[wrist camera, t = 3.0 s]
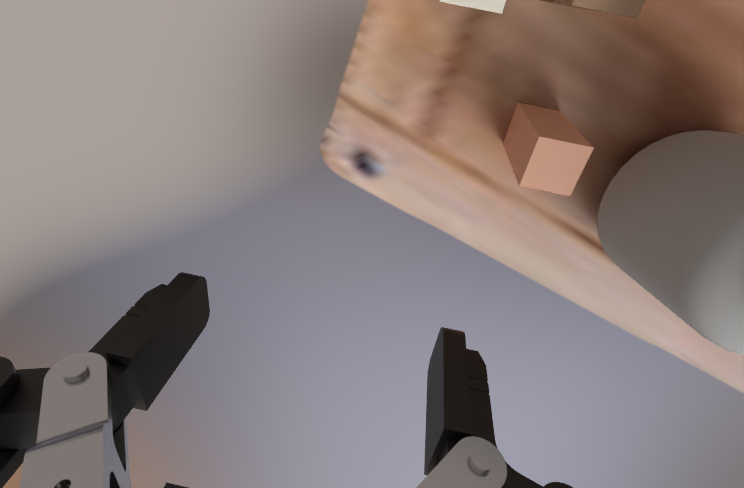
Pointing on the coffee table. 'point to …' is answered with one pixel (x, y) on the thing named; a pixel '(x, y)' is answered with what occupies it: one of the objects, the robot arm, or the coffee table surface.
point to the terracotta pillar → (545, 149)
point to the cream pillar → (480, 4)
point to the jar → (684, 229)
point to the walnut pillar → (607, 6)
